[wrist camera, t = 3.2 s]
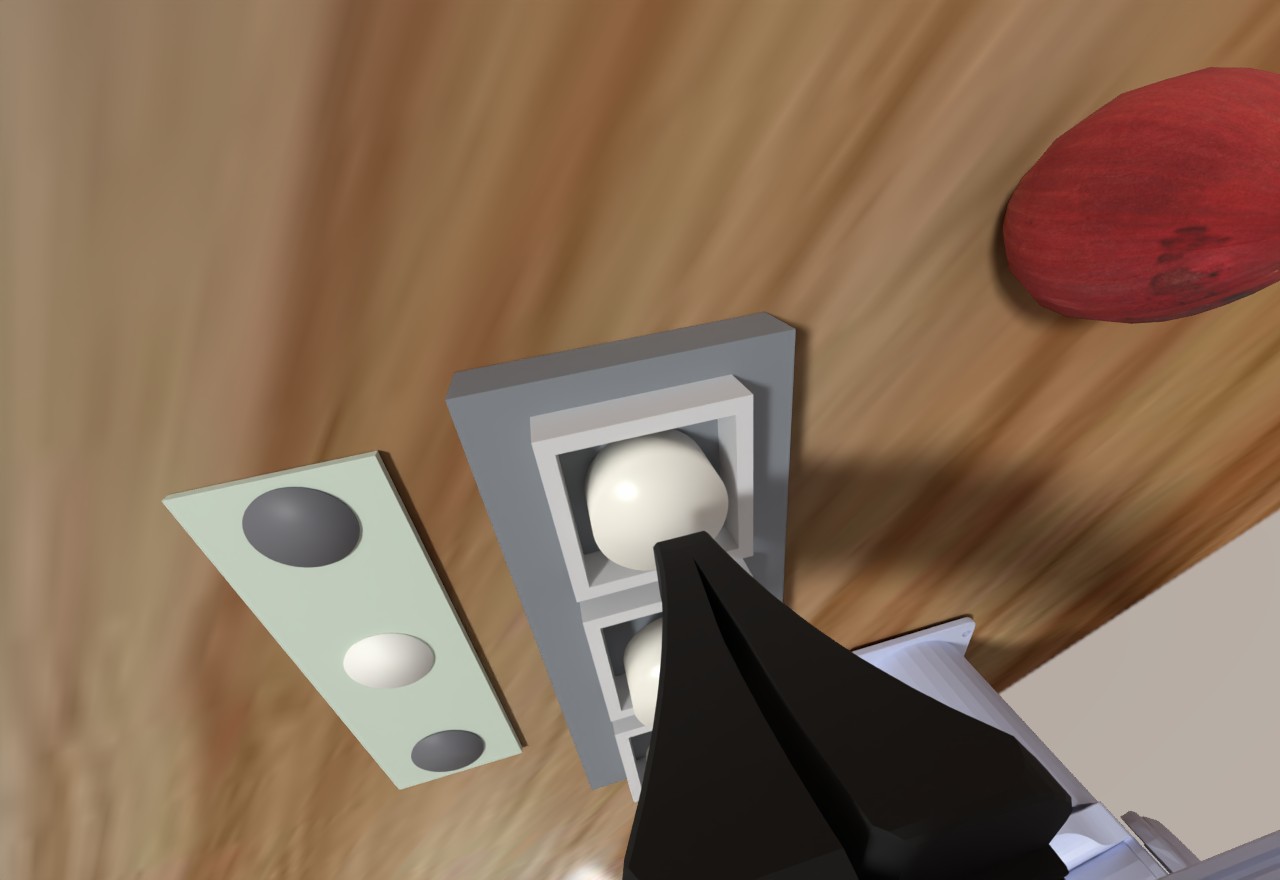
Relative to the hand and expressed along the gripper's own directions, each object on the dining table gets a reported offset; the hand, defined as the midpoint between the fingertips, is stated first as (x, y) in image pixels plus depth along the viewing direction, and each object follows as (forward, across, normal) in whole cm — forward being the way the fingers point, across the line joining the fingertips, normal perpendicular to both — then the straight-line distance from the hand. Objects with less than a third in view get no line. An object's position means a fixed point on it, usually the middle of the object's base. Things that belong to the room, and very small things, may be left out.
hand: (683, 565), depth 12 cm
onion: (+6, -14, -6) cm, 16 cm away
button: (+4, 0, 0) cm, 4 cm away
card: (+6, +11, +7) cm, 14 cm away
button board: (+6, 0, +7) cm, 9 cm away
